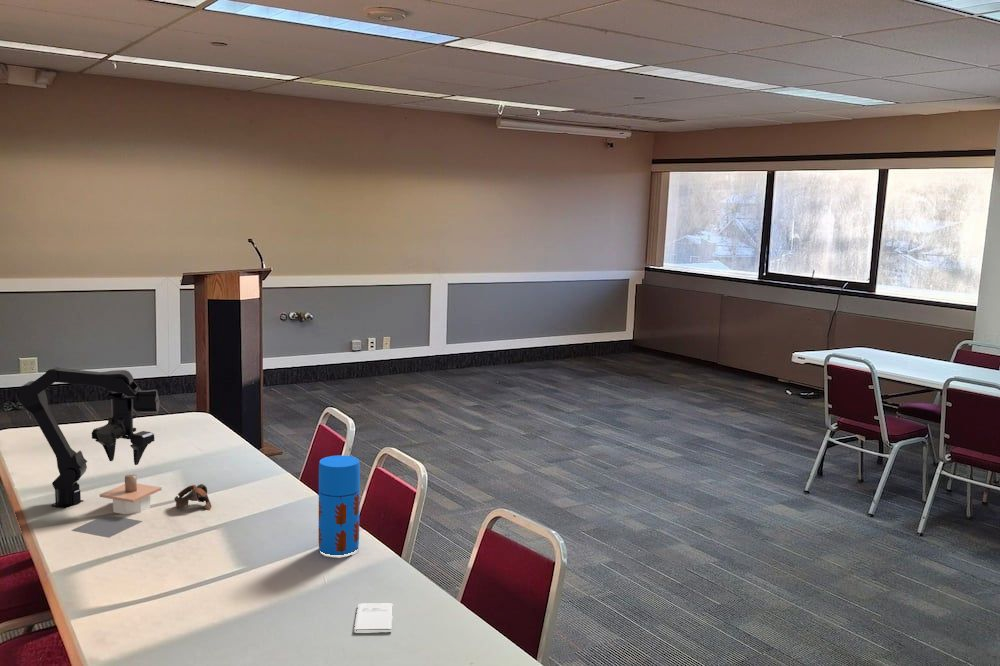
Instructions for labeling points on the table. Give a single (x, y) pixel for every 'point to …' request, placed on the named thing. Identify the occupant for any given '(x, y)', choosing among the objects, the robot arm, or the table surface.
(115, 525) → the mat
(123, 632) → the table surface
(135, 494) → the lid
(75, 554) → the table surface
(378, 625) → the external hard drive
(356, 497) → the thermos
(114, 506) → the bowl
